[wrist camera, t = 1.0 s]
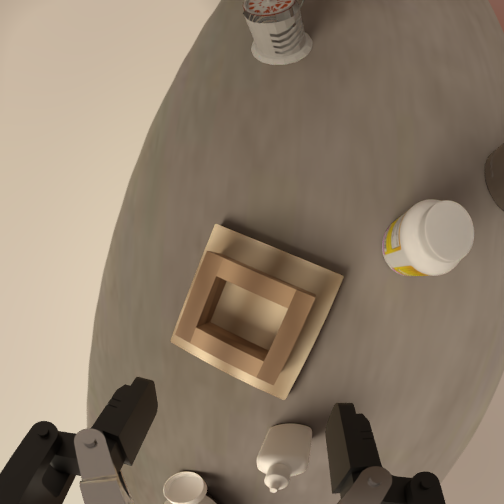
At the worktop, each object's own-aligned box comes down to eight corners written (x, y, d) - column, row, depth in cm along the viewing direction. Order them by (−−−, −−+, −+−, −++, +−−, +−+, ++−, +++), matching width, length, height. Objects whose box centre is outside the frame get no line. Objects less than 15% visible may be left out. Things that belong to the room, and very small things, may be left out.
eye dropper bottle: (301, 451, 30) (288, 510, 19) (264, 435, 32) (238, 490, 20) (317, 429, 30) (311, 487, 19) (279, 412, 32) (256, 466, 20)
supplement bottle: (440, 258, 29) (495, 249, 16) (396, 286, 30) (437, 292, 17) (414, 209, 30) (458, 174, 17) (370, 234, 31) (397, 211, 19)
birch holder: (343, 276, 31) (346, 276, 26) (286, 395, 32) (279, 415, 26) (219, 225, 36) (201, 217, 30) (175, 339, 36) (153, 348, 31)
